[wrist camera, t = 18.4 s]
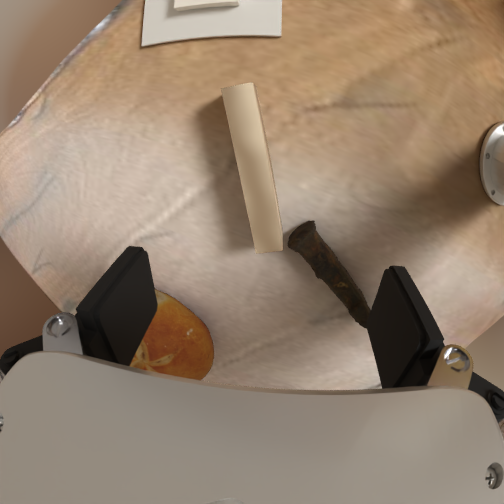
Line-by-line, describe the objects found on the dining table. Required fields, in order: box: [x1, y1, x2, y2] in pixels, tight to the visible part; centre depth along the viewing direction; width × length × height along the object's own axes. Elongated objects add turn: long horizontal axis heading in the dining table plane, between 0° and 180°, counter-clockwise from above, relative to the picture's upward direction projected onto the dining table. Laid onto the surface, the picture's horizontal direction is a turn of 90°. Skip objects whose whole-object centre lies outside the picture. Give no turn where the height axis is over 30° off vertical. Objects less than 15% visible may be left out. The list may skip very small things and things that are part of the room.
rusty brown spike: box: [288, 221, 371, 328], centre depth 36 cm, size 19×4×5 cm, turn 39°
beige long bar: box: [221, 82, 283, 254], centre depth 29 cm, size 3×18×5 cm, turn 11°
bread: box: [130, 289, 214, 380], centre depth 42 cm, size 23×23×10 cm
